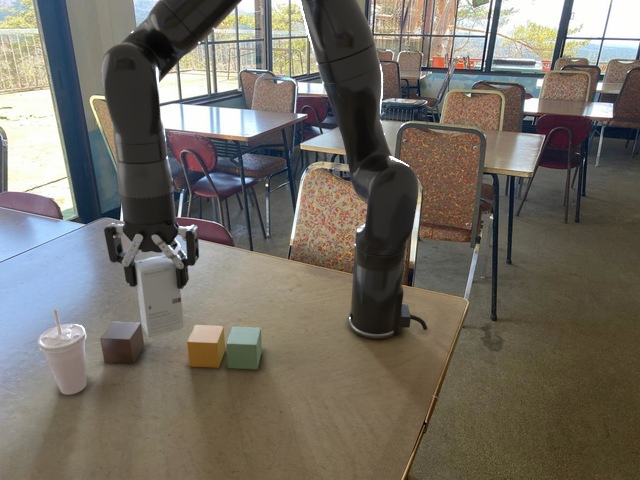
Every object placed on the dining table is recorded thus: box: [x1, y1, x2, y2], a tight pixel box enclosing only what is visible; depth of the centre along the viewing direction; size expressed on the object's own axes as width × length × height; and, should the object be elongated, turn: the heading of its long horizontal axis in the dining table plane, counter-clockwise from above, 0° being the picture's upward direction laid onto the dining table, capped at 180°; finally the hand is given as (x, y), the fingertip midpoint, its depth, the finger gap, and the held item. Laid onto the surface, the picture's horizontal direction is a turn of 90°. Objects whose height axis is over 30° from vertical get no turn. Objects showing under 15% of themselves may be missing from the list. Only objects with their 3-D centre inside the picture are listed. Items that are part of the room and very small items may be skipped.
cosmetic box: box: [134, 254, 184, 338], centre depth 78 cm, size 6×4×12 cm
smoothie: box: [37, 307, 87, 396], centre depth 73 cm, size 6×6×14 cm
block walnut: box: [99, 321, 145, 365], centre depth 82 cm, size 5×5×5 cm
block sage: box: [225, 326, 263, 370], centre depth 82 cm, size 5×5×5 cm
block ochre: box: [186, 324, 226, 369], centre depth 82 cm, size 5×5×5 cm
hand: (158, 285), depth 78 cm, fingers closed on cosmetic box, 7 cm apart
